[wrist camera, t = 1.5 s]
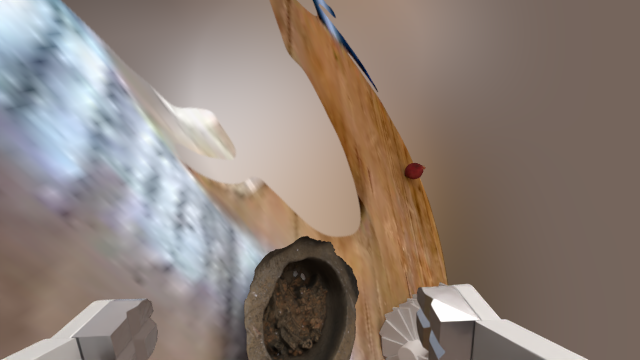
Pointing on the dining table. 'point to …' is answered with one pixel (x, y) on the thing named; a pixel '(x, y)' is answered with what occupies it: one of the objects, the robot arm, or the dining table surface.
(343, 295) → the stone bowl
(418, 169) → the onion
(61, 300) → the dining table surface
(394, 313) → the spiral staircase
